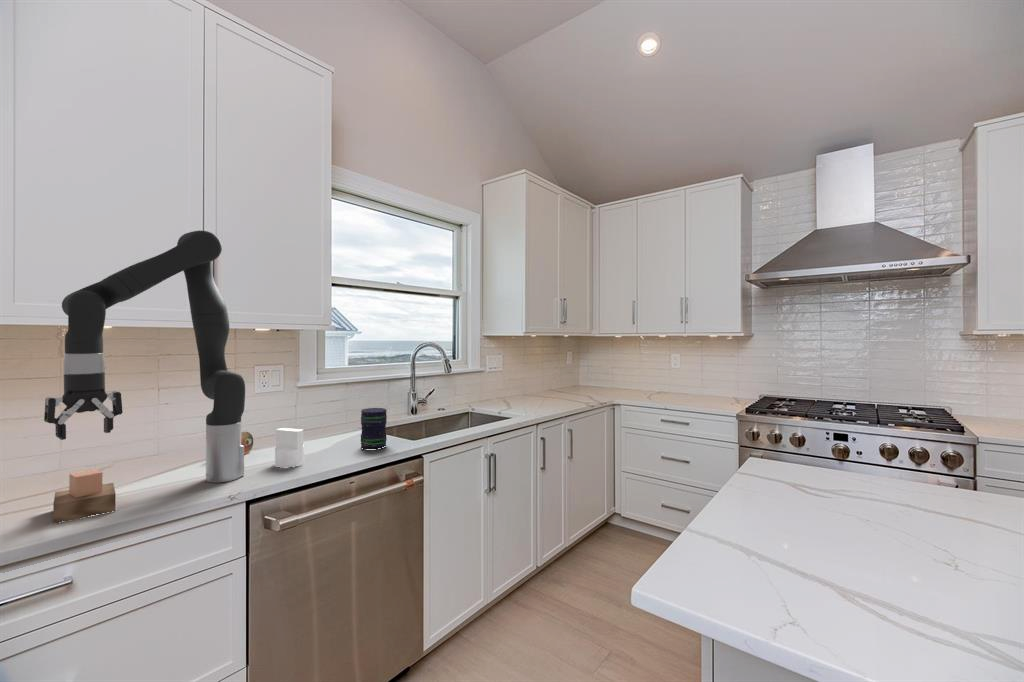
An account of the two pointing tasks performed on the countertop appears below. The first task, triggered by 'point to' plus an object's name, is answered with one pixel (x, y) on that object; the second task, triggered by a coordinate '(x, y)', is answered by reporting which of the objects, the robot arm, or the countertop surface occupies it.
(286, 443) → the white block
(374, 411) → the storage jar
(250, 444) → the tin
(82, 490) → the terracotta cube
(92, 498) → the walnut block
